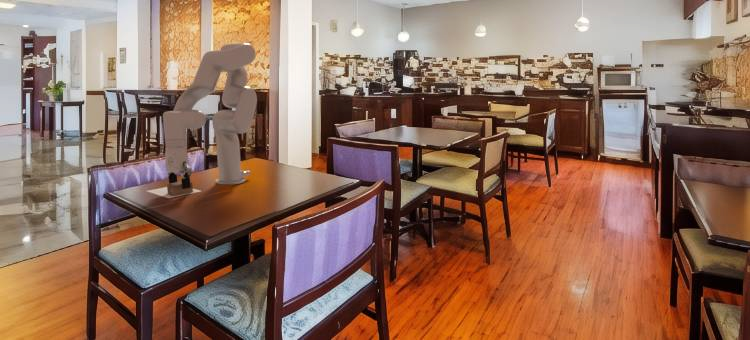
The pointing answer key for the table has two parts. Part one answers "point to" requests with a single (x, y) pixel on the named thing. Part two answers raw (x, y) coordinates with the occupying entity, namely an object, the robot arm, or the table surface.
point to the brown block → (178, 188)
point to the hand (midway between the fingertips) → (179, 186)
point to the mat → (164, 192)
